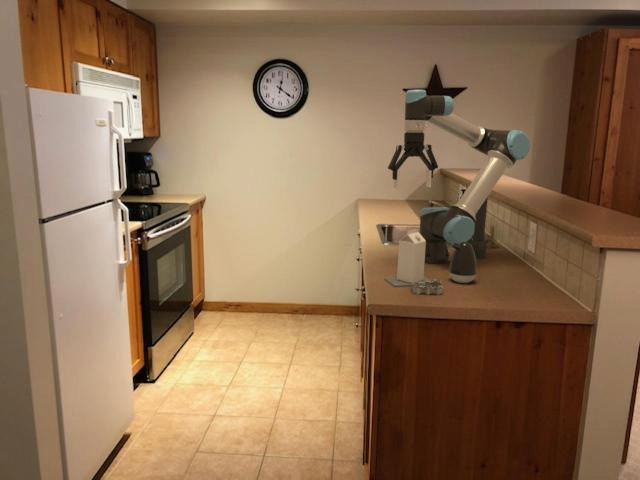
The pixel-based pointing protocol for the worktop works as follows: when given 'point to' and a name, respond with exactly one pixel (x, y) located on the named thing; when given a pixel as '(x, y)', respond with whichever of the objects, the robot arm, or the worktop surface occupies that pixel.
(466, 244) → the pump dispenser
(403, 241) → the milk carton
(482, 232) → the flashlight
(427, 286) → the egg carton
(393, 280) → the mat
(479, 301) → the worktop surface
